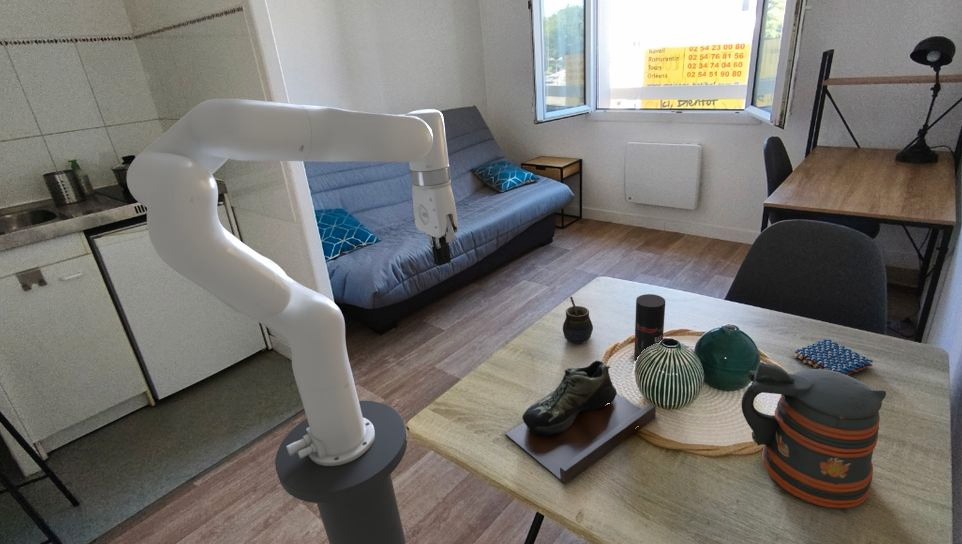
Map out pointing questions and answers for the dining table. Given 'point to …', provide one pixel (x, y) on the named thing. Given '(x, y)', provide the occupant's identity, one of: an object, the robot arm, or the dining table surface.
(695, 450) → the dining table surface
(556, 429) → the hiking shoe
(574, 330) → the mate gourd
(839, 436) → the beer stein
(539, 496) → the dining table surface
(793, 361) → the dining table surface
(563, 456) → the shoe shelf
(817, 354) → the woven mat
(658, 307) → the deodorant
